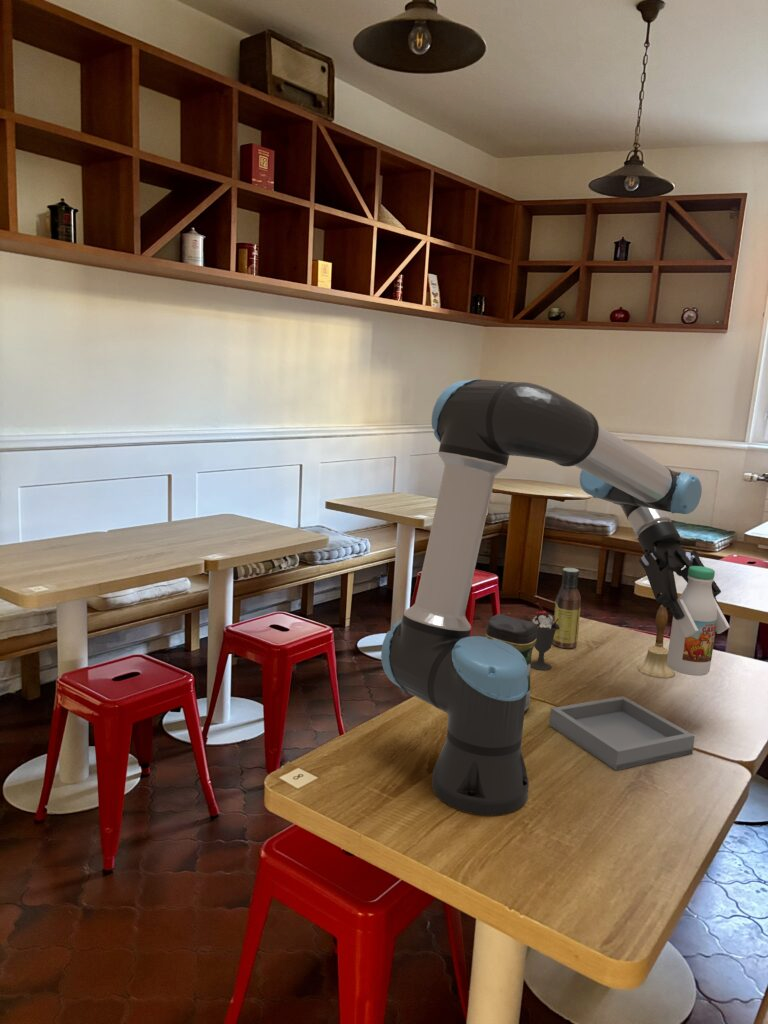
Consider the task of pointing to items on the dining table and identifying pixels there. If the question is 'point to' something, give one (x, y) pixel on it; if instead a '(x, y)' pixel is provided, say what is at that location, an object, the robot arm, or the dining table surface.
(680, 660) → the milk bottle
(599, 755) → the serving tray
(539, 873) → the dining table surface
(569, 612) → the sauce bottle
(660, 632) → the hand bell
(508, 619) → the coffee jar
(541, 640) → the sundae
